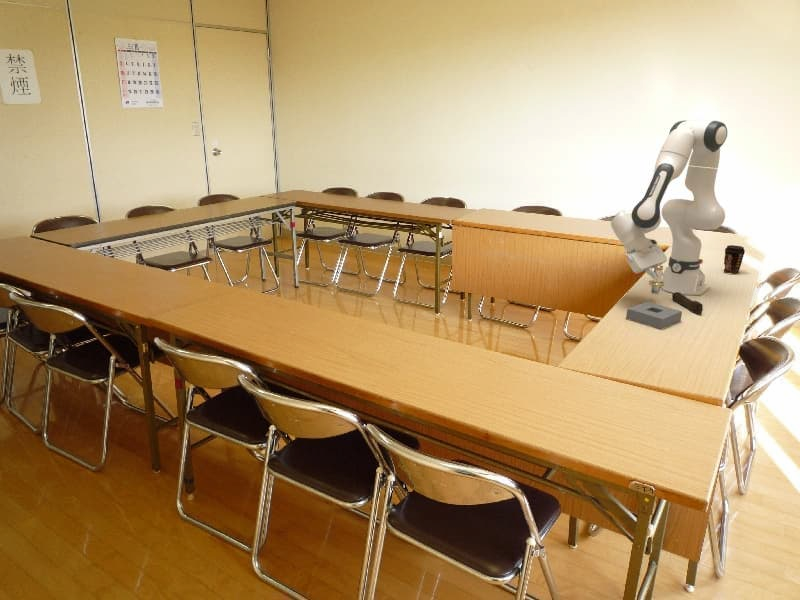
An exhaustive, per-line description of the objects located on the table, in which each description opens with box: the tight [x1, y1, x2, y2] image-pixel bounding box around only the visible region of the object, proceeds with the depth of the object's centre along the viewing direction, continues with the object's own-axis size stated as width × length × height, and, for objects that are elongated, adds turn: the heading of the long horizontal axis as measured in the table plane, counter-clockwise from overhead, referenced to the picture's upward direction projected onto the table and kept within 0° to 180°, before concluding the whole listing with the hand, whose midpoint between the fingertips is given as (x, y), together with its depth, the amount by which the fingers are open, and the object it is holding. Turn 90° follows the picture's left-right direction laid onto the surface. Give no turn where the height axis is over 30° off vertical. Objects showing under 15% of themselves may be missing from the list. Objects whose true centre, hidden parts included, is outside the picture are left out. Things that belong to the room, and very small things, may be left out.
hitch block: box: [625, 301, 683, 330], centre depth 219 cm, size 14×14×4 cm
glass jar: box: [648, 265, 664, 295], centre depth 230 cm, size 6×6×11 cm
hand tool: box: [671, 292, 704, 316], centre depth 234 cm, size 19×4×5 cm, turn 2°
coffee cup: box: [723, 244, 745, 275], centre depth 282 cm, size 9×8×13 cm
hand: (658, 276), depth 229 cm, fingers closed on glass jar, 3 cm apart
